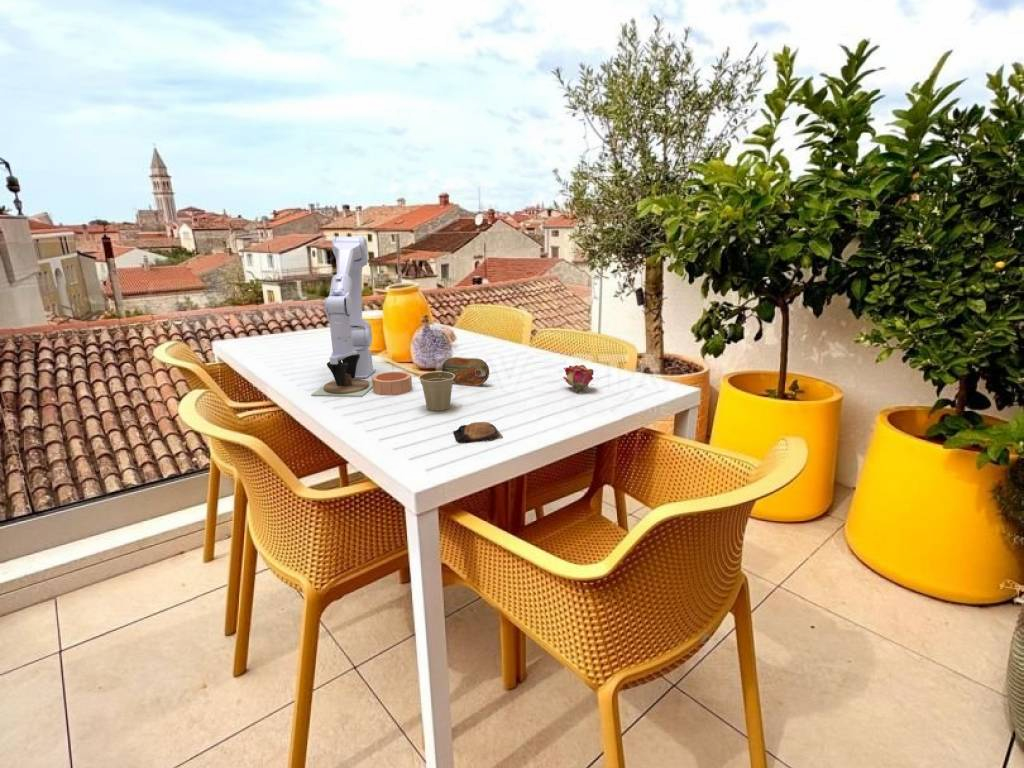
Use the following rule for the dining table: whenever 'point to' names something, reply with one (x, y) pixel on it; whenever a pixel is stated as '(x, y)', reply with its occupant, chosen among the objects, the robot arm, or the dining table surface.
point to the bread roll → (476, 433)
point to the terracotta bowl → (392, 383)
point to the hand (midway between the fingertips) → (346, 381)
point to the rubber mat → (356, 394)
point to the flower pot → (437, 389)
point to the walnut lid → (346, 386)
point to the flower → (578, 376)
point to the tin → (467, 370)
